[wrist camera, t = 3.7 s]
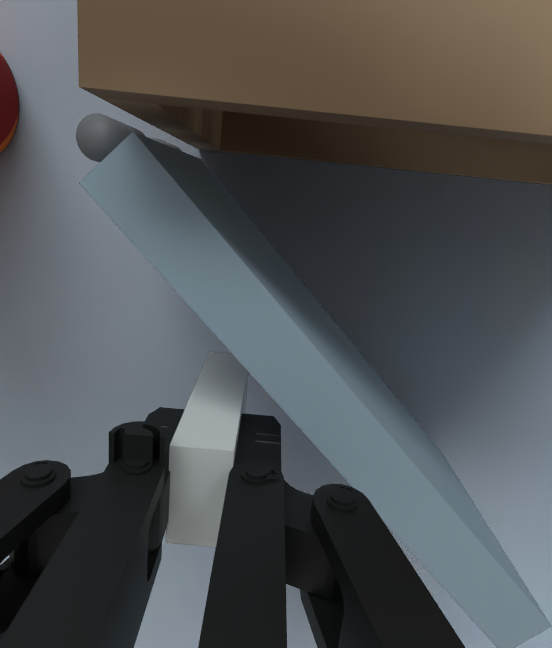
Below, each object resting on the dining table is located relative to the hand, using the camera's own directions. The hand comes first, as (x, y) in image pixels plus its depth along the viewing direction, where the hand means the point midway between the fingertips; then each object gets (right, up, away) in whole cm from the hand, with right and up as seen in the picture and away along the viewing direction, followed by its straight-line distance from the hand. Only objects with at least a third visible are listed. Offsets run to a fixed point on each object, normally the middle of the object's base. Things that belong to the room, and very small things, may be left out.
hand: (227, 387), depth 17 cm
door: (+3, +2, +3) cm, 5 cm away
